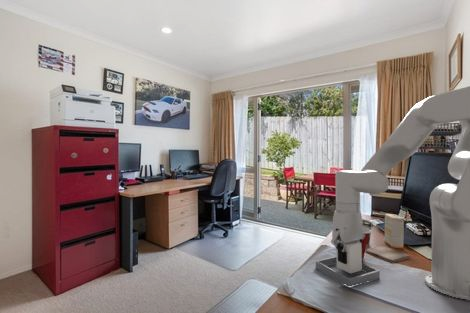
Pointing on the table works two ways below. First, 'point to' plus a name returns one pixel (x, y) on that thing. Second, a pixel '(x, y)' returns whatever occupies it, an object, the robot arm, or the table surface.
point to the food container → (367, 225)
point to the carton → (351, 257)
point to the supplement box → (394, 230)
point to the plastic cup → (365, 240)
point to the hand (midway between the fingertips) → (348, 260)
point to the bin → (323, 264)
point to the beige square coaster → (387, 254)
